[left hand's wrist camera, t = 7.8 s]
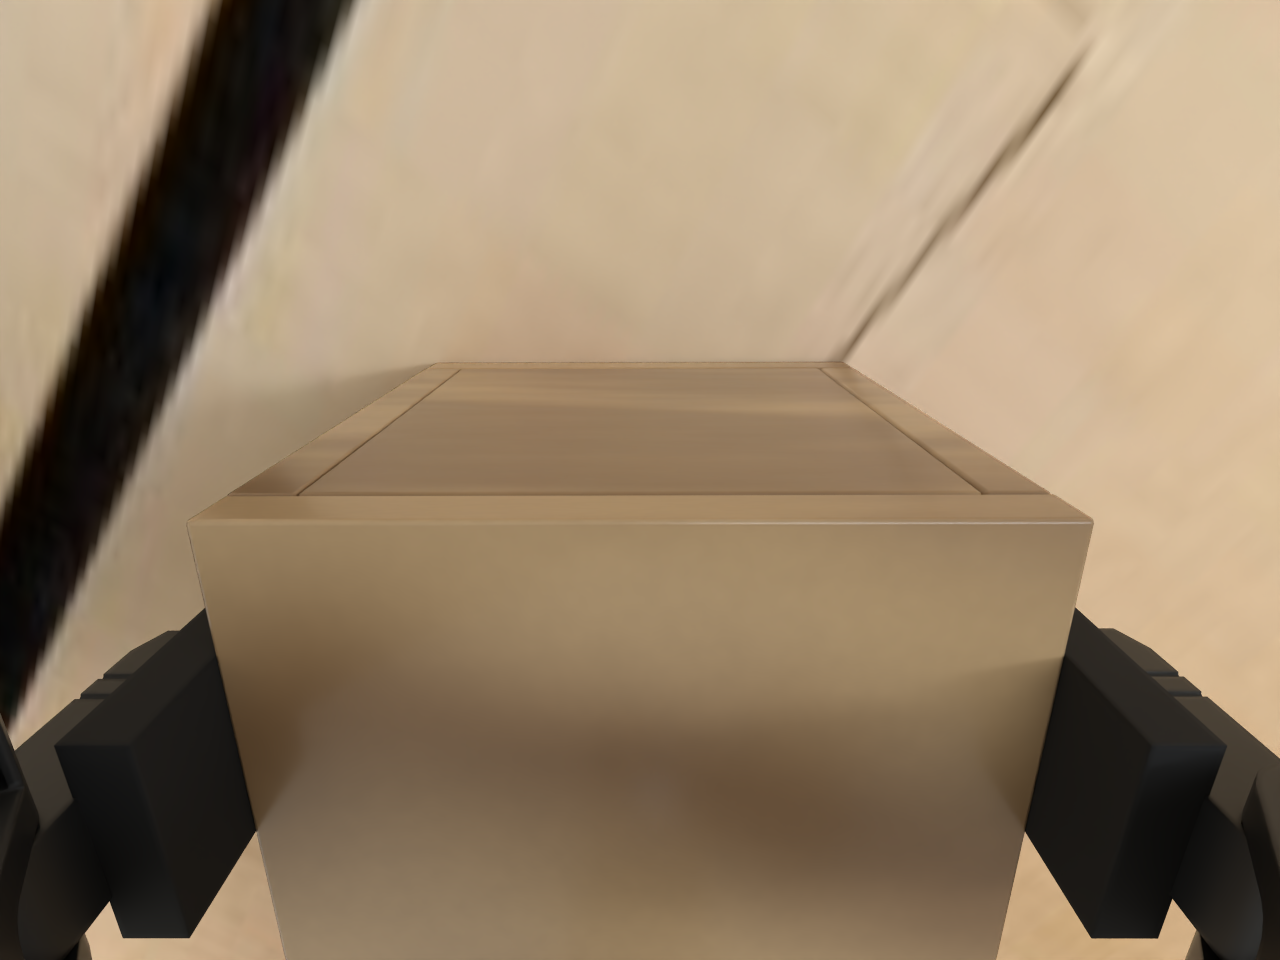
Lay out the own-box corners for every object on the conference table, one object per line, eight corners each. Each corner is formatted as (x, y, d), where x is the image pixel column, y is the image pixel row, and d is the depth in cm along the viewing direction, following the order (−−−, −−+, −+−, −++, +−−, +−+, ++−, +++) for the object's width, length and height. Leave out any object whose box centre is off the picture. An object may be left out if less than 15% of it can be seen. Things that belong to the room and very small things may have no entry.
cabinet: (789, 963, 24) (888, 1446, 15) (492, 963, 24) (395, 1447, 15) (845, 361, 18) (1098, 519, 8) (434, 362, 18) (182, 521, 8)
